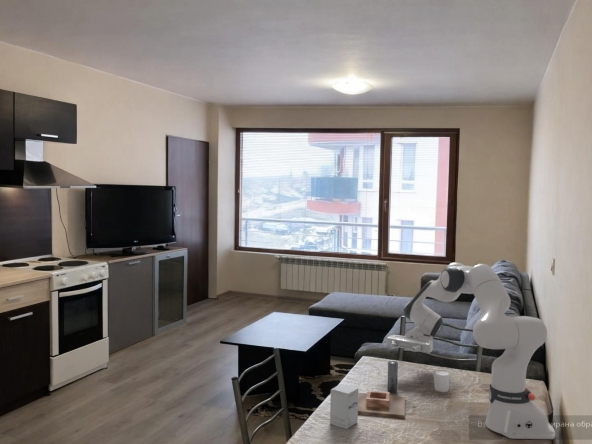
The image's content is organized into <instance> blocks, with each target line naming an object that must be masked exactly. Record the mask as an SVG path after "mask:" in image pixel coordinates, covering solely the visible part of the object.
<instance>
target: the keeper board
mask: <svg viewBox="0 0 592 444" xmlns="http://www.w3.org/2000/svg"><path fill="white" fill-rule="evenodd" d="M405 405H406V397H405V396H399V395H391V393H390V392H388V391H375V390H367V392H366V393H364V392H358V415H362V414H364V416H372V415H375V417H384V418H385V417H386V418H396V419H405V417H406V415H405V414H406V410H405V409H406V406H405Z"/></svg>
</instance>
